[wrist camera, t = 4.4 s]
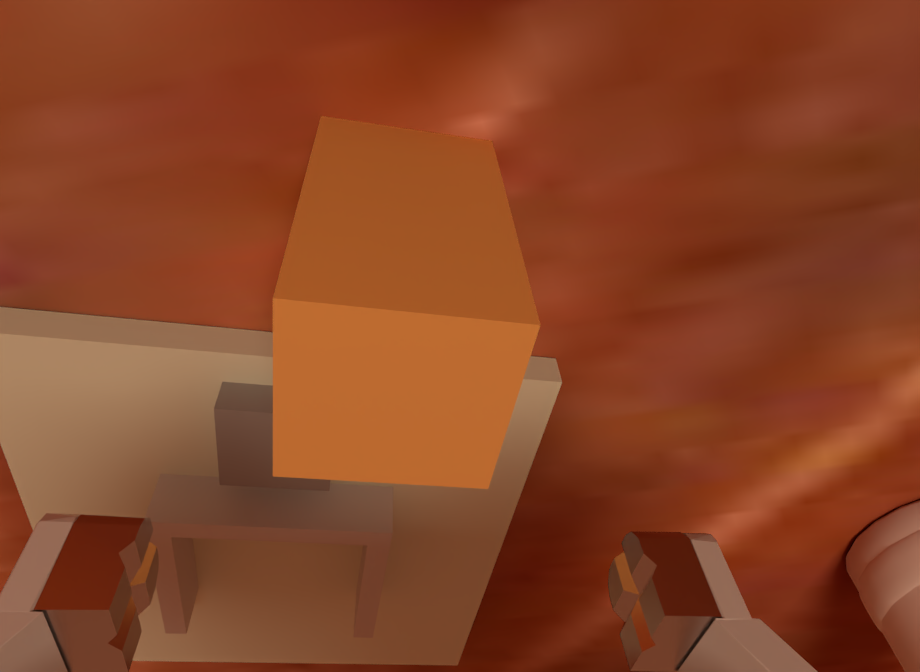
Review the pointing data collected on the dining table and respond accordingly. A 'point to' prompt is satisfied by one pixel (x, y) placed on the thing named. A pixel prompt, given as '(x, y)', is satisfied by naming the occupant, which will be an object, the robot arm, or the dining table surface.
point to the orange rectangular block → (399, 311)
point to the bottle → (891, 579)
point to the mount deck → (248, 496)
